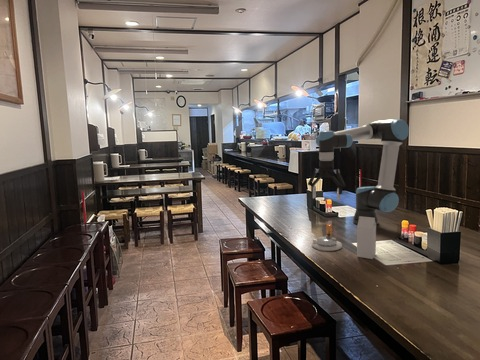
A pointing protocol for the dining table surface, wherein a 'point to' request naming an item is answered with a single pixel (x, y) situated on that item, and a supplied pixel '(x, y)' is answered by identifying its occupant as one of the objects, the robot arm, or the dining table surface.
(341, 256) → the dining table surface
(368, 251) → the milk carton
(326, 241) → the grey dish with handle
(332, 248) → the plate
